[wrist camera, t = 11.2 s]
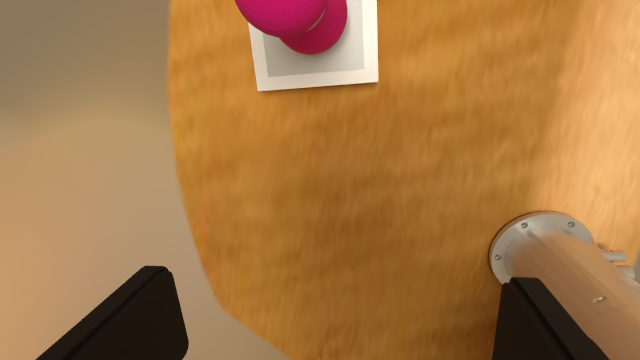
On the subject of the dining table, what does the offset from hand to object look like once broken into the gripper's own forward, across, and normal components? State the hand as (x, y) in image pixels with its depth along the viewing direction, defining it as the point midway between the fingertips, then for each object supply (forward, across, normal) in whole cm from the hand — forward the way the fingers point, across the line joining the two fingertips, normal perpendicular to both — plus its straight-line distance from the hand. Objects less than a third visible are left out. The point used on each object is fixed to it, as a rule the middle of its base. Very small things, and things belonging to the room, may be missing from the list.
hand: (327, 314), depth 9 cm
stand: (+33, +5, -12) cm, 36 cm away
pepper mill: (+30, +4, -12) cm, 33 cm away
